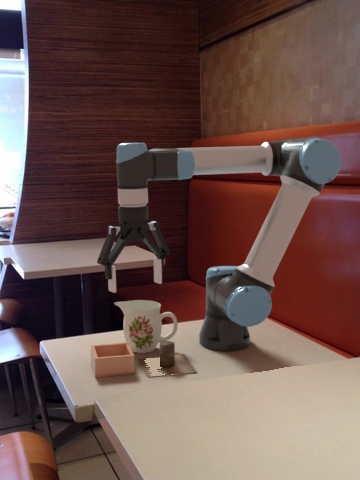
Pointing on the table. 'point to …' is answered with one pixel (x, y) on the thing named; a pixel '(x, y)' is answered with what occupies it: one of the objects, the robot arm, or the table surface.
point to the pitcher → (144, 324)
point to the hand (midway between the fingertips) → (135, 287)
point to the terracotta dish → (112, 359)
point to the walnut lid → (170, 361)
